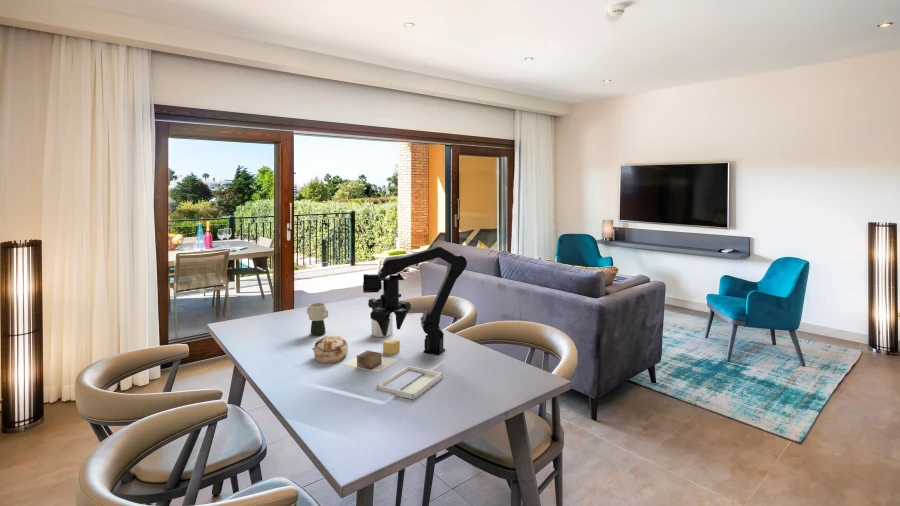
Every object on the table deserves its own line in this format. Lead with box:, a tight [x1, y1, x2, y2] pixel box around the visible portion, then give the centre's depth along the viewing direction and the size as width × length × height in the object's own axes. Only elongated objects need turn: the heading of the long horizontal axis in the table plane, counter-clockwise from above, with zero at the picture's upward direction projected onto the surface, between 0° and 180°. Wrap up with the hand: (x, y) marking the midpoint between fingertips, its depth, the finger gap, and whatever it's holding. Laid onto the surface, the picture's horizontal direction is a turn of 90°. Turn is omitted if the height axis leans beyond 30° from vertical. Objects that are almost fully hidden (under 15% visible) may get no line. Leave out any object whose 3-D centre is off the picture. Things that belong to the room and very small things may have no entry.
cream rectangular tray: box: [376, 365, 443, 401], centre depth 146 cm, size 13×18×2 cm
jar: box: [370, 307, 394, 338], centre depth 196 cm, size 9×8×12 cm
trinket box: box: [312, 334, 349, 364], centre depth 168 cm, size 13×15×8 cm
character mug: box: [306, 302, 329, 336], centre depth 195 cm, size 11×7×13 cm, turn 66°
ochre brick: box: [382, 338, 401, 355], centre depth 173 cm, size 4×4×5 cm
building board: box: [342, 355, 399, 373], centre depth 163 cm, size 15×13×1 cm
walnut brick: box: [356, 350, 383, 371], centre depth 159 cm, size 6×6×4 cm
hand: (391, 332), depth 172 cm, fingers open, 9 cm apart
